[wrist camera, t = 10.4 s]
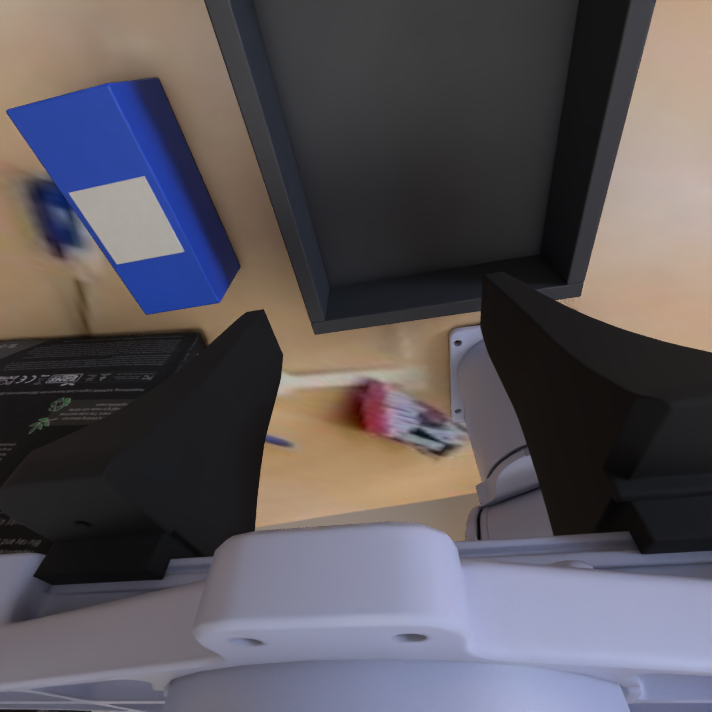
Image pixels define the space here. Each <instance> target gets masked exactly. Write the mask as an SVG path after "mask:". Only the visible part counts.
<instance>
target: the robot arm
mask: <svg viewBox="0 0 712 712" xmlns="http://www.w3.org/2000/svg"><path fill="white" fill-rule="evenodd" d="M457 340H460V341H459V342H457V343H455V341H457ZM449 349H450V393H451V418H452V421H453V422H456V423H459V422H465V423H466V427H467V430H468V434H469V437H470V441H471V445H472V448H473V452H474V456H475V459H476V463H477V466H478V470H479V474H480V477H481V481H482V483H480V484H478V485H476V489H477V493H478V497H479V501H480V505H479V506H476V507H474V508H473V509H472V510H471V511H470V513H469V515H468V519H467V524H466V532H465V541H461V542H453V541H452V540H451V539H450V537H449V536H448V535H447V534H445V533H444V532H443V531H440V530H438V529H435V528H432V527H429V526H427V525H424V524H421V523H407V522H377V523H363V524H348V525H335V526H319V527H305V528H291V529H276V530H264V531H263V530H262V531H255V520H256V508H257V496H258V488H259V479H260V470H261V463H262V456H263V449H264V443H265V438H266V434H267V430H268V426H269V422H270V419H271V415H272V411H273V407H274V403H275V400H276V396H277V392H278V388H279V384H280V380H281V372H282V361H283V354H282V351H281V349H280V347H279V344H278V342H277V340H276V337H275V335H274V332H273V330H272V328H271V325H270V323H269V321H268V318H267V316H266V314H265V311H264V309H263V310H257V311H250V312H246V313H245V314H244V315H242V316H241V317H240V318H239V319H237V320H236V321H235V322H234V323H233V324H232V325H231V326H229V327H228V328H227V329H226V330H225V331H224V332H223V333H222V334H221V335H220V336H219V337H217V338H216V339H215V340H214V341H213V342H212V343H211V344H210V345H209V346H208V347H206V348H205V349H204V350H203V351H202V352H201V353H199V354H198V355H197V356H196V357H195V358H193V359H192V360H191V361H190V362H189V363H187V364H186V365H185V366H184V367H183V368H181V369H180V370H179V371H177V372H176V373H175V374H173V375H172V376H171V377H169V378H168V379H166V380H165V381H164V382H162V383H161V384H159V385H158V386H156V387H155V388H153V389H152V390H150V391H149V392H147V393H145V394H144V395H142V396H141V397H139V398H137V399H136V400H134V401H132V402H131V403H129V404H127V405H126V406H124V407H122V408H121V409H119V410H117V411H115V412H113V413H112V414H110V415H108V416H106V417H104V418H102V419H100V420H98V421H96V422H94V423H92V424H90V425H88V426H86V427H84V428H82V429H80V430H78V431H76V432H74V433H71V434H69V435H67V436H65V437H62V438H60V439H58V440H56V441H54V442H51V443H49V444H47V445H45V446H42V447H40V448H37V449H35V450H33V451H31V452H30V453H29V454H28V455H27V456H26V458H25V459H24V460H23V461H22V462H21V464H20V465H19V466H18V467H17V468H16V470H15V471H14V472H13V473H12V474H11V476H10V477H9V478H8V479H7V480H6V481H5V483H4V484H3V485H2V486H1V487H0V509H1V510H2V511H3V512H4V513H5V514H6V515H8V516H9V517H11V518H12V519H14V520H15V521H17V522H18V523H20V524H22V525H24V526H26V527H27V528H29V529H31V530H33V531H34V532H36V533H38V534H40V535H42V536H43V537H45V538H47V539H49V540H51V541H52V542H54V544H53V545H52V547H51V548H50V550H49V551H48V553H47V555H43V554H39V553H16V554H2V555H0V709H39V710H81V711H113V712H712V353H711V352H707V351H702V350H698V349H693V348H689V347H684V346H680V345H676V344H672V343H668V342H664V341H660V340H657V339H653V338H650V337H647V336H643V335H640V334H636V333H633V332H630V331H627V330H624V329H621V328H618V327H615V326H612V325H610V324H607V323H604V322H602V321H599V320H597V319H594V318H591V317H589V316H587V315H584V314H582V313H580V312H578V311H576V310H574V309H571V308H569V307H567V306H565V305H563V304H561V303H559V302H557V301H555V300H553V299H551V298H549V297H548V296H546V295H544V294H542V293H540V292H538V291H537V290H535V289H533V288H531V287H530V286H528V285H526V284H525V283H523V282H521V281H519V280H518V279H516V278H514V277H512V276H511V275H509V274H507V273H505V272H498V273H492V274H486V275H483V280H482V301H481V322H480V325H477V326H470V327H463V328H456V329H453V330H452V331H451V332H450V334H449Z"/></svg>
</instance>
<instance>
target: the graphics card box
mask: <svg viewBox="0 0 712 712" xmlns="http://www.w3.org/2000/svg"><path fill="white" fill-rule="evenodd" d="M205 348H206V347H205V345H204V342H203V340H202V337H201V336H200V334H199V333H183V334H156V335H140V336H139V335H132V336H116V337H88V338H64V339H44V340H20V341H0V487H1V486H2V485H3V484H4V483H5V481H6V480H7V479H8V478H9V477H10V476H11V474H12V473H13V472H14V471H15V470H16V468H17V467H18V466H19V465H20V464H21V462H22V461H23V460H24V459H25V458H26V456H27V455H28V454H29V453H30V452H31V451H33V450H35V449H37V448H40V447H42V446H45V445H47V444H49V443H51V442H54V441H56V440H58V439H60V438H62V437H65V436H67V435H69V434H71V433H74V432H76V431H78V430H80V429H82V428H84V427H86V426H88V425H90V424H92V423H94V422H96V421H98V420H100V419H102V418H104V417H106V416H108V415H110V414H112V413H113V412H115V411H117V410H119V409H121V408H122V407H124V406H126V405H127V404H129V403H131V402H132V401H134V400H136V399H137V398H139V397H141V396H142V395H144V394H145V393H147V392H149V391H150V390H152V389H153V388H155V387H156V386H158V385H159V384H161V383H162V382H164V381H165V380H166V379H168V378H169V377H171V376H172V375H173V374H175V373H176V372H177V371H179V370H180V369H181V368H183V367H184V366H185V365H186V364H187V363H189V362H190V361H191V360H192V359H193V358H195V357H196V356H197V355H198V354H199V353H201V352H202V351H203V350H204V349H205ZM53 544H54V542H52V541H51V540H49V539H47V538H45V537H43V536H42V535H40V534H38V533H36V532H34V531H33V530H31V529H29V528H27V527H26V526H24V525H22V524H20V523H18V522H17V521H15V520H14V519H12V518H11V517H9V516H8V515H6V514H5V513H4V512H3V511H2V510H1V509H0V555H2V554H16V553H39V554H43V555H47V553H48V551H49V550H50V548H51V547H52V545H53ZM0 712H91V711H81V710H39V709H0Z"/></svg>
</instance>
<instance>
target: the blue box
mask: <svg viewBox="0 0 712 712" xmlns="http://www.w3.org/2000/svg"><path fill="white" fill-rule="evenodd" d="M6 112H7V114H8V116H9V117H10V119H11V120H12V121H13V123H14V124H15V126H16V127H17V129H18V130H19V132H20V133H21V135H22V136H23V137H24V139H25V140H26V142H27V143H28V145H29V146H30V148H31V149H32V150H33V152H34V153H35V155H36V156H37V158H38V159H39V161H40V162H41V164H42V165H43V166H44V168H45V169H46V171H47V172H48V174H49V175H50V177H51V178H52V179H53V181H54V182H55V184H56V185H57V187H58V188H59V190H60V191H61V193H62V194H63V195H64V197H65V198H66V200H67V201H68V203H69V204H70V206H71V207H72V208H73V210H74V211H75V213H76V214H77V216H78V217H79V219H80V220H81V222H82V223H83V224H84V226H85V227H86V229H87V230H88V232H89V233H90V235H91V236H92V237H93V239H94V240H95V242H96V243H97V245H98V246H99V248H100V249H101V251H102V252H103V253H104V255H105V256H106V258H107V259H108V261H109V262H110V264H111V265H112V266H113V268H114V269H115V271H116V272H117V274H118V275H119V277H120V278H121V280H122V281H123V282H124V284H125V285H126V287H127V288H128V290H129V291H130V293H131V294H132V295H133V297H134V298H135V300H136V301H137V303H138V304H139V306H140V307H141V309H142V310H143V311H144V313H145V314H146V315H148V314H154V313H160V312H166V311H173V310H179V309H185V308H191V307H197V306H203V305H209V304H215V303H220V301H221V300H222V298H223V296H224V294H225V293H226V291H227V289H228V288H229V286H230V284H231V282H232V281H233V279H234V277H235V275H236V274H237V272H238V270H239V268H240V265H239V263H238V261H237V258H236V256H235V254H234V251H233V249H232V247H231V244H230V242H229V240H228V238H227V235H226V233H225V231H224V228H223V226H222V224H221V222H220V219H219V217H218V215H217V212H216V210H215V208H214V205H213V203H212V201H211V199H210V196H209V194H208V192H207V189H206V187H205V185H204V183H203V180H202V178H201V176H200V173H199V171H198V169H197V166H196V164H195V162H194V160H193V157H192V155H191V153H190V150H189V148H188V146H187V144H186V141H185V139H184V137H183V134H182V132H181V130H180V127H179V125H178V123H177V121H176V118H175V116H174V114H173V111H172V109H171V107H170V105H169V102H168V100H167V98H166V95H165V93H164V91H163V88H162V86H161V84H160V82H159V80H158V78H148V79H139V80H131V81H122V82H114V83H106V84H102V85H98V86H95V87H91V88H87V89H83V90H79V91H76V92H72V93H68V94H64V95H60V96H57V97H53V98H49V99H45V100H42V101H38V102H34V103H30V104H26V105H23V106H19V107H15V108H11V109H8V110H7V111H6Z"/></svg>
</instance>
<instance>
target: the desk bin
mask: <svg viewBox="0 0 712 712" xmlns="http://www.w3.org/2000/svg"><path fill="white" fill-rule="evenodd" d="M204 2H205V5H206V8H207V11H208V14H209V17H210V20H211V23H212V26H213V29H214V32H215V35H216V38H217V41H218V44H219V47H220V50H221V53H222V56H223V59H224V62H225V65H226V68H227V71H228V74H229V77H230V80H231V83H232V86H233V89H234V92H235V95H236V98H237V101H238V104H239V107H240V110H241V113H242V116H243V119H244V122H245V125H246V128H247V131H248V134H249V137H250V140H251V144H252V147H253V150H254V153H255V156H256V159H257V162H258V165H259V168H260V171H261V174H262V177H263V180H264V183H265V186H266V189H267V192H268V195H269V198H270V201H271V204H272V207H273V210H274V213H275V216H276V219H277V222H278V225H279V228H280V231H281V234H282V237H283V240H284V243H285V246H286V249H287V252H288V255H289V258H290V261H291V264H292V267H293V270H294V273H295V276H296V279H297V282H298V285H299V288H300V291H301V294H302V298H303V301H304V304H305V307H306V310H307V313H308V316H309V319H310V322H311V325H312V328H313V331H314V334H315V335H317V334H324V333H331V332H338V331H344V330H351V329H358V328H365V327H372V326H379V325H386V324H393V323H400V322H407V321H414V320H421V319H428V318H435V317H441V316H448V315H455V314H462V313H469V312H476V311H481V301H482V280H483V275H486V274H492V273H498V272H505V273H507V274H509V275H511V276H512V277H514V278H516V279H518V280H519V281H521V282H523V283H525V284H526V285H528V286H530V287H531V288H533V289H535V290H537V291H538V292H540V293H542V294H544V295H546V296H548V297H549V298H551V299H553V300H559V299H566V298H573V297H579V296H581V292H582V288H583V282H584V280H585V276H586V272H587V268H588V264H589V260H590V256H591V253H592V249H593V245H594V241H595V237H596V233H597V229H598V225H599V221H600V217H601V214H602V210H603V206H604V202H605V198H606V194H607V190H608V186H609V182H610V178H611V174H612V171H613V167H614V163H615V159H616V155H617V151H618V147H619V143H620V139H621V135H622V131H623V128H624V124H625V120H626V116H627V112H628V108H629V104H630V100H631V96H632V92H633V89H634V85H635V81H636V77H637V73H638V69H639V65H640V61H641V57H642V53H643V49H644V46H645V42H646V38H647V34H648V30H649V26H650V22H651V18H652V14H653V10H654V6H655V3H656V0H204Z"/></svg>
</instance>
